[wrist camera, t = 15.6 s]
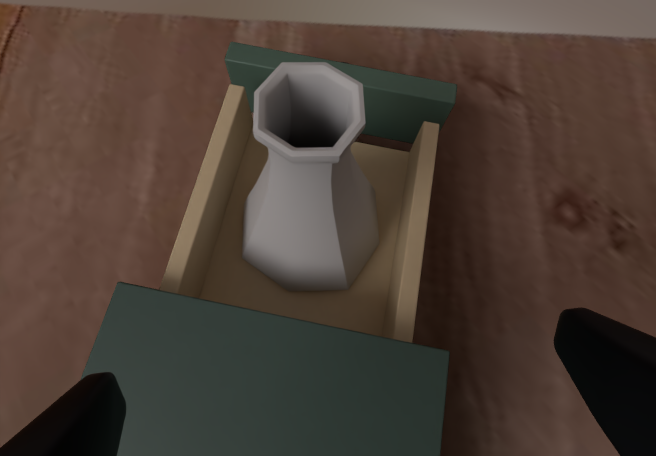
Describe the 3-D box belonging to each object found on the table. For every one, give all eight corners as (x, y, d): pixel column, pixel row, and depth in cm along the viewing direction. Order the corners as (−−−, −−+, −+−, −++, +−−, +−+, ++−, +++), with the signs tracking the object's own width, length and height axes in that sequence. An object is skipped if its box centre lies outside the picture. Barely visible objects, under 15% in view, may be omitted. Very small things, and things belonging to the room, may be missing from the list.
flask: (218, 271, 19) (127, 185, 10) (267, 147, 21) (231, -20, 12) (360, 314, 19) (409, 268, 9) (394, 183, 21) (461, 39, 12)
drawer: (249, 78, 24) (236, 22, 20) (435, 113, 24) (459, 64, 20) (159, 353, 19) (118, 352, 15) (397, 404, 18) (420, 417, 15)
